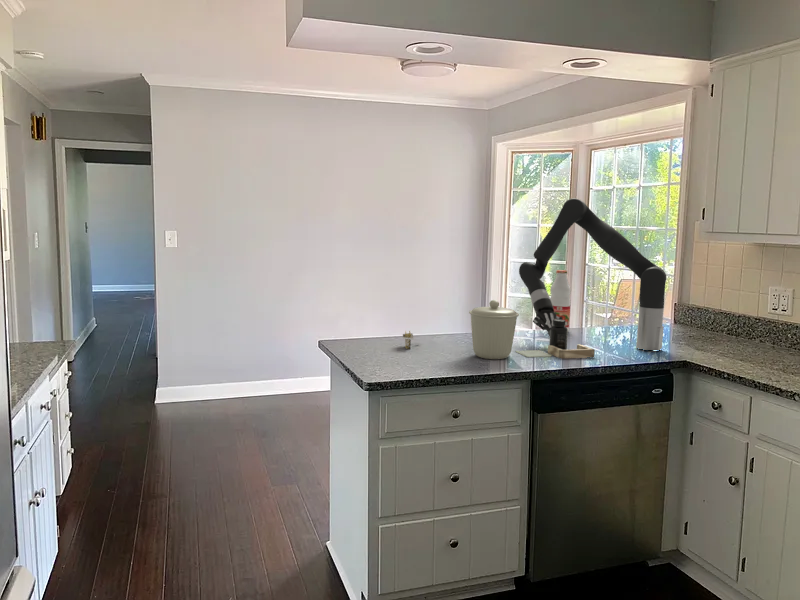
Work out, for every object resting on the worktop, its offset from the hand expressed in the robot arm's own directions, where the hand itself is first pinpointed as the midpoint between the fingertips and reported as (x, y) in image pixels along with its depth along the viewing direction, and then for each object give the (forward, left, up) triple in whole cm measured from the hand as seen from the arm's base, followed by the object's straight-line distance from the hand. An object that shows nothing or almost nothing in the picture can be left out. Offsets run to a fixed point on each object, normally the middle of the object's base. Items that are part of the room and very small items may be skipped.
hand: (554, 337), depth 264 cm
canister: (+12, +32, -5) cm, 34 cm away
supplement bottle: (-3, +3, -4) cm, 6 cm away
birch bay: (-10, +9, -4) cm, 14 cm away
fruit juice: (+14, -40, -5) cm, 43 cm away
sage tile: (+2, +17, -4) cm, 17 cm away
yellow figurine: (+45, +38, -5) cm, 59 cm away
